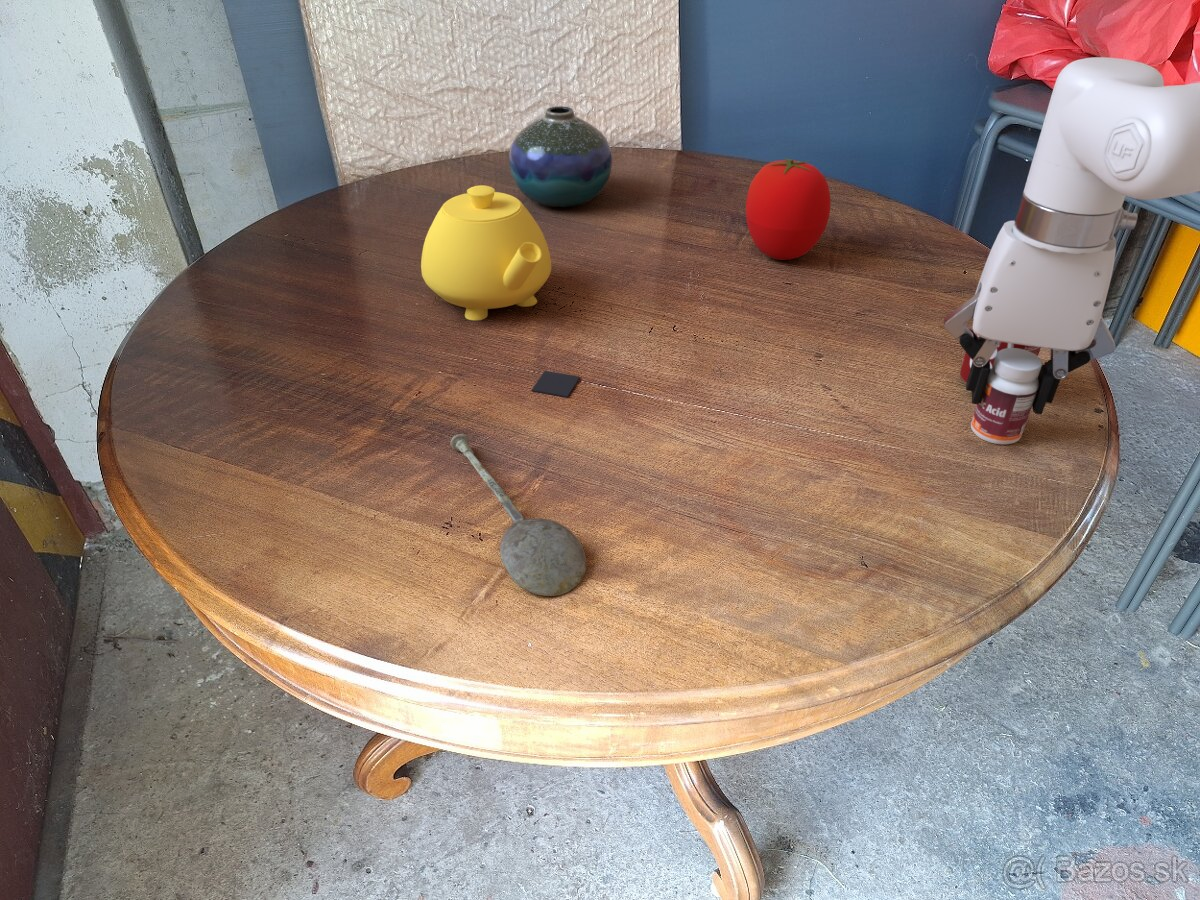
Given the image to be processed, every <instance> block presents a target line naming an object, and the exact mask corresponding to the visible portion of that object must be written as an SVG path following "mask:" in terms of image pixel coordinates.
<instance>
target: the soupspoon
mask: <svg viewBox="0 0 1200 900" xmlns="http://www.w3.org/2000/svg"><path fill="white" fill-rule="evenodd" d="M469 443H470V440H469V437H468V436H467V435H466V434H464V433H459V434H456V435H454V436H453V437H452V438H451V439H450V443H449V444H450V447H451V448H452V449H453V450H454V451H457V452H460V453H462V454H463V456H464V457H465V458H467V459H468V460H469V462H470V464H471V465H472V466H473V468H474V469H475V470H476V472H477V474H479V476H480V478H481V479H482V480H483V481H484V483H485V484H486V485H487V486H488V488H489V489H490V491H491V492H492V493H493V494H494V496H495V497H496V498H497V500H498V501H499V503H500V504H501V506H502V508H503V509H504V511H505V512H506V513H507V515H508V517H509V518H510V519H511V522H512V524H511V525H510V526H509V527H508V528H507V529H506V530H505V531H504V534H503V535H502V537H501V540H500V545H499V554H500V559H501V562H502V564H503V566H504V568H505V570H506V572H507V573H508V575H509V576H510V578H511V579H512V582H514V583H515V584H516V585H518V586H519V587H520V588H522V589H524V590H525V591H528V592H529V593H530V594H531V593H532V594H534V595H537V596H544V597H552V596H553V597H555V596H561V595H564V594H566V593H569V592H571V590H573V589H574V588H576V587H577V586H578V585H580V583H581V582H582V580H583V579H584V577H585V574H586V571H587V558H586V554H585V549H584V547H583V545H582V544H581V541H580V540H579V539H578V537H577V536H576V535H575V533H573V532H572V531H571V530H570V529H569V528H568V527H566V526H565V525H563V524H562V523H560V522H557V521H555V520H551V519H547V518H542V517H541V518H537V517H536V518H533V517H532V518H525V516H523V514H522V512H520V510H519V509H518V507H517V505H515V503H514V502H513V501H512V500H511V498H510V497H509V495H508V493H506V492H505V490H504V489H503V488H502V487H501V485H500V483H498V482H497V481H496V479H495V478H494V477H493V476H492V475H491V473H489V472H488V470H487V469H486V468H485V466H483V464H482V463H481V462H480V461H479V459H478V458H477V457H476V456H475V452H474V450H473V449H472V448H471V446H470V445H469Z"/></svg>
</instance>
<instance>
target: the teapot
mask: <svg viewBox="0 0 1200 900" xmlns="http://www.w3.org/2000/svg"><path fill="white" fill-rule="evenodd" d="M547 242H548V241H547V240H546V238H545V235H544V233H543V231H542V229H541V228H540V226H539V224H538V223H537V222H536V220H535V219H534V217H533V216H532V214H531V213H530V211H529V209H528V208H527V207H526V206H525V205H524V204H523V203H522V201H521V200H520V199H518V198H517V197H515V196H513V195H511V194H508V193H504V192H499V191H496V190H495V188H494V187H492V186H491V185H490V186H489V185H482V184H480V185H479V184H478V185H475V186H471V187H469V188H468V189H467V190H466V193H462V194H459V195H456V196H453V197H451V198H449V199H448V200H446V201H445V202H444V203H443V204H442V206H441V207H440V209H439V210H438V211H437V214H436V215H435V217H434V219H433V221H432V222H431V225H430V226H429V229H428V231H427V234H426V236H425V239H424V242H423V246H422V251H421V252H422V253H421V259H420V260H421V261H420V268H421V270H420V271H421V277H422V278H423V281H424V283H425V285H427V286H428V288H429V289H430V290H431V291H433V293H435V294H436V295H437V296H439V297H440V298H441V299H442V300H443V301H445V302H447V303H449V304H451V305H454V306H456V307H461V308H465V312H464V317H465V319H466V320H469V321H482V320H484V319H486V318H487V317H488V316H489V310H493V309H499V308H500V309H501V308H506V307H510V306H513V305H516V306H519V307H523V308H524V307H525V308H526V307H527V308H528V307H533V306H535V305H536V304H537V303H538V299H537V298H536V296H535V294H537V292H538V291H539V290H540V289H541V288H542V287H543V286H544V284H545V283H546V282H547V281H548V279H549V277H550V275H551V272H552V259H551V258H552V257H551V253H550V249H549V246H548V243H547Z"/></svg>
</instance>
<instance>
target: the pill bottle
mask: <svg viewBox="0 0 1200 900" xmlns="http://www.w3.org/2000/svg"><path fill="white" fill-rule="evenodd" d="M1042 364H1043V360H1042V359H1041V358H1040V356H1039V355H1038V356H1037V355H1035V354H1034V353H1032V352H1029V351H1027V350H1023V349H1018V348H1006V349H1002V350H1000V351H999V352H998V353H997V354H996V357H995V360H994V362H993V368H991V369H990V374H989V377H988V380H987V384H986V387H985V390H984V393H983V397H982V400H981V403H978V404H976V407H975V409H974V413H973V415H972V419H971V422H970V429H971V431H972V432H973V433H974V434H975V435H976V436H977V437H978V438H979V439H981V440H983V441H985V442H987V443H990V444H995V445H1012V444H1015V443H1017V442H1019V441H1020V440H1021V438H1022V436H1023V433H1024V431H1025V428H1026V425H1027V422H1028V418H1029V416H1030V414H1031V411H1032V409H1033V407H1032V405H1033V402H1034V400H1035V397H1036V394H1037V391H1038V389H1039V380H1038V375H1039V373H1040V369H1041V366H1042Z"/></svg>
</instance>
